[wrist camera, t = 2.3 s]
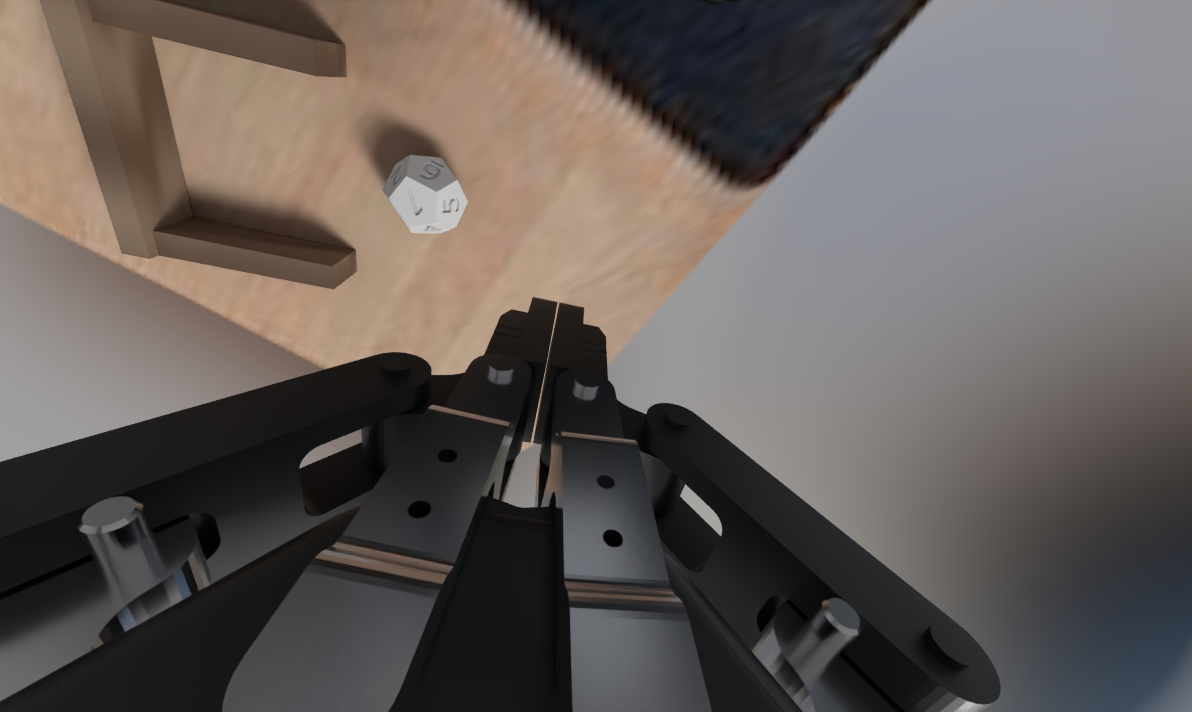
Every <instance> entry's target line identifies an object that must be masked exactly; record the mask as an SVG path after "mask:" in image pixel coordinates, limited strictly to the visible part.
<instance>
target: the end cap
mask: <svg viewBox="0 0 1192 712" xmlns="http://www.w3.org/2000/svg"><path fill="white" fill-rule="evenodd" d="M701 1H705V2H708V3H711V4H721V3H723V2H724V1H731V2H737V1H739V0H701Z"/></svg>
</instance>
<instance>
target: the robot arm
mask: <svg viewBox="0 0 1192 712" xmlns="http://www.w3.org/2000/svg"><path fill="white" fill-rule="evenodd" d="M556 308H557V302H555V301H550V300H545V299H540V298H535V297H533V298H532V302H531V305H530V308H529V311H528V313H526V312H522V311H517V310H512V309H511V310H510V311H508V312H506V313H505V314H503V315H501V317H500V319H499V321H498V324H497V327H496V328H495V331H494V334H493V335H492V338H491V340H490V342H489V345H488V347H487V350H486V352H485V354H484V355H483V356H480V357H478V358H476V359H474V360H473V361H472V362H471V364H470V365H469V367H468V368H467V370H466V372H465V373H461V374H455V375H431V367H430V365H429V364H428V363H427V362H426V361H425V360H424V359H422V358H420V357H418V356H415V355H412V354H408V353H399V352H391V353H382V354H378V355H374V356H371V357H367V358H364V359H360V360H357V361H353V362H350V363H346V364H343V365H339V366H336V367H332V368H329V369H325V370H322V371H318V372H315V373H311V374H308V375H304V376H300V377H297V378H293V379H290V380H286V381H283V382H280V383H276V384H272V385H269V386H265V387H262V388H258V389H255V390H251V391H248V392H245V393H241V394H237V395H234V396H230V397H227V398H223V399H220V400H216V401H213V402H210V403H206V404H202V405H199V406H195V407H192V408H188V409H185V410H181V411H178V412H174V413H171V414H167V415H164V416H160V417H156V418H153V419H150V420H146V421H142V422H139V423H135V424H132V425H129V426H125V427H121V428H118V429H114V430H111V431H107V432H104V433H100V434H97V435H93V436H90V437H86V438H83V439H79V440H76V441H72V442H69V443H65V444H62V445H58V446H55V447H51V448H47V449H44V450H40V451H37V452H34V453H30V454H26V455H23V456H20V457H16V458H12V459H9V460H5V461H2V462H0V712H981V711H983V710H984V709H985V708H986V707H988V706H989V705H991V704H992V703H993V702H995V701H996V700H997V699H998V698H999V695H1000V682H999V677H998V675H997V672H996V670H995V668H994V666H993V664H992V662H991V661H990V659H989V657H988V656H987V654H986V653H985V652H984V650H983V649H982V648H981V646H980V645H979V644H978V643H977V642H976V641H975V640H974V638H972V636H971V635H970V634H968V632H967V631H965V630H964V629H963V628H962V627H960V626H959V625H958V624H957V623H956V622H955V621H954V620H952V619H951V618H949V616H947V615H946V614H945V613H943V612H942V611H941V610H940V609H939V608H937V607H936V606H935V605H934V604H932V603H931V602H930V601H928V600H927V599H926V598H925V597H923V596H922V595H921V594H920V593H919V592H917V591H916V590H915V589H913V588H912V587H911V586H910V585H909V584H907V583H906V582H905V581H904V580H902V579H901V578H900V577H898V576H897V575H896V574H895V573H894V572H892V571H891V570H890V569H889V568H887V567H886V566H885V565H884V564H882V563H881V562H880V561H878V560H877V559H876V558H875V557H873V556H872V555H871V554H870V553H869V552H867V551H866V550H865V549H864V548H862V547H861V546H860V545H858V544H857V543H856V542H855V541H854V540H852V539H851V538H850V537H849V536H847V535H846V534H845V533H844V532H842V531H841V530H840V529H839V528H837V527H836V526H835V525H834V524H832V523H831V522H830V521H829V520H827V519H826V518H825V517H824V516H822V515H821V514H820V513H818V512H817V511H816V510H815V509H814V508H812V507H811V506H810V505H809V504H807V503H806V502H805V501H803V500H802V499H801V498H800V497H799V496H797V495H796V494H795V493H794V492H792V491H791V490H790V489H788V488H787V487H786V486H785V485H784V484H782V483H781V482H780V481H779V480H777V479H776V478H774V477H773V476H772V475H771V474H770V473H769V472H767V471H766V470H765V469H764V468H762V467H761V466H760V465H758V464H757V463H756V462H755V461H754V460H752V459H751V458H750V457H749V456H747V455H746V454H745V453H744V452H742V451H741V450H740V449H739V448H737V447H736V446H735V445H733V444H732V443H731V442H730V441H729V440H727V439H726V438H725V437H724V436H722V435H721V434H720V433H718V432H717V431H716V430H715V429H713V428H712V427H711V426H710V425H709V424H707V423H706V422H705V421H704V420H702V419H701V418H700V417H699V416H697V415H696V414H694V413H693V412H692V411H690V410H688V409H686V408H684V407H682V406H679V405H675V404H669V403H660V404H655V405H653V406H651V407H650V408H649V409H648V411H647V414H644V413H642V412H639V411H637V410H634V409H632V408H629V407H627V406H626V405H624V404H622V403H621V402H619V401H618V400H617V399H616V393H615V389H614V387H613V385H612V384H611V383H610V381H608V375H607V356H606V355H607V351H606V336H605V335H604V334H603V332H602V331H601V330H600V328H599V327H596V326H591V325H586V324H583V318H584V307H579V306H574V305H569V304H565V303H559V308H558V313H557V318H556V323H555V328H554V333H553V337H552V342H551V347H550V352H549V346H550V341H551V335H552V330H553V324H554V319H555V313H556ZM548 352H549V357H548ZM547 358H548V363H547ZM546 363H547V368H546ZM545 368H546V373H545ZM544 373H545V379H544V385H543V390H542V396H541V402H540V407H539V413H538V419H537V424H536V430H535V436H534V441H533V443H536V444H542V445H541V452H540V456H539V461H538V466H537V474H536V494H535V507H532V508H520V507H516V506H513V505H510V504H508V503H505V502H503V501H504V498H505V495H506V492H507V489H508V486H509V483H510V480H511V477H512V473H513V471H514V467H515V463H516V458H517V455H518V454H519V453H520V451H521V447H522V442H523V441H524V442H530V443H531V438H532V433H533V428H534V423H535V418H536V413H537V408H538V403H539V398H540V393H541V388H542V383H543V378H544ZM360 429H361V430H362V442H361V443H359V444H356V445H354V446H352V447H350V448H347V449H345V450H342V451H340V452H338V453H335V454H333V455H331V456H328V457H326V458H323V459H321V460H319V461H316V462H314V463H312V464H309V465H307V466H305V467H302V468H300V469H299V466H300V463H301V461H302V460H303V458H304V457H305V456H306V454H308V453H309V452H310V451H311V450H312V449H314V448H316V447H318V446H320V445H322V444H325V443H327V442H330V441H332V440H334V439H337V438H340V437H342V436H345V435H347V434H350V433H352V432H355V431H357V430H360ZM685 484H686V485H687V486H688V487H689V488H690V489H691V490H692V491H693V492H694V493H696V494H697V495H698V496H699V497H700V498H701V499H702V500H703V501H704V502H705V503H706V504H707V505H708V506H710V508H711V509H712V510H713V511H714V512H715V513H716V514H717V515H718V517H719V519H720V521H721V524H722V535H721V536H720V535H719V534H718V533H717V532H716V531H715V530H714V529H713V528H712V527H711V526H710V525H709V524H708V523H707V522H705V521H704V520H703V519H702V518H701V517H700V516H699V515H698V514H697V513H696V512H695V511H694V510H693V509H692V508H691V507H690V506H689V505H688V504H687V503H686V502H685V501H684V500H683V499H682V498H681V497H680V495H681V492H682V490H683V488H684V486H685Z"/></svg>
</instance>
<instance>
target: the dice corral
mask: <svg viewBox="0 0 1192 712" xmlns="http://www.w3.org/2000/svg"><path fill="white" fill-rule="evenodd" d="M40 2H41V5H42V8H43V11H44V14H45V17H46V20H47V24H48V27H49V30H50V33H51V36H52V39H53V42H54V45H55V48H56V51H57V54H58V58H59V61H60V64H61V67H62V70H63V73H64V76H65V79H66V82H67V85H68V88H69V92H70V95H71V98H72V101H73V104H74V107H75V110H76V113H77V116H78V119H79V122H80V126H81V129H82V132H83V135H84V138H85V141H86V144H87V147H88V150H89V153H90V156H91V159H92V163H93V166H94V169H95V172H96V175H97V178H98V181H99V184H100V187H101V190H102V193H103V197H104V200H105V203H106V206H107V209H108V212H109V215H110V218H111V221H112V224H113V227H114V231H115V234H116V237H117V240H118V243H119V246H120V249H121V252H122V253H123V254H128V255H133V256H138V257H143V258H149V259H151V258H153V257H156V256H158V255H160V256H165V257H170V258H175V259H180V260H186V261H191V262H196V263H201V264H206V265H211V266H217V267H222V268H227V269H232V270H237V271H242V272H247V273H253V274H258V275H263V276H268V277H273V278H278V279H284V280H289V281H294V282H299V283H304V284H309V285H315V286H320V287H325V288H330V289H335V288H336V287H337V286H339V285H340V284H341V283H343V282H344V281H345V280H346V279H348V278H349V277H350V276H352V275H353V274H354V273H355V272H357V267H356V250H351V249H346V248H342V247H337V246H332V245H327V244H322V243H317V242H312V241H307V240H302V239H297V238H293V237H288V236H283V235H278V234H273V233H268V232H263V231H258V230H253V229H248V228H244V227H239V226H234V225H229V224H224V223H219V222H214V221H209V220H204V219H199V218H195V217H193V214H192V210H191V205H190V201H189V197H188V192H187V188H186V184H185V179H184V175H183V171H182V166H181V162H180V158H179V153H178V149H177V145H176V140H175V136H174V132H173V127H172V123H171V119H170V114H169V110H168V106H167V101H166V97H165V93H164V88H163V84H162V80H161V76H160V71H159V67H158V63H157V58H156V54H155V50H154V45H153V41H152V37H151V36H154V37H158V38H162V39H166V40H170V41H174V42H178V43H182V44H187V45H191V46H195V47H199V48H203V49H207V50H211V51H215V52H219V53H224V54H228V55H232V56H236V57H240V58H244V59H248V60H252V61H256V62H261V63H265V64H269V65H273V66H277V67H281V68H285V69H289V70H293V71H298V72H302V73H306V74H310V75H314V76H327V77H347V74H346V55H345V45H343V44H339V43H335V42H331V41H327V40H323V39H319V38H315V37H311V36H307V35H303V34H299V33H295V32H291V31H287V30H283V29H279V28H275V27H271V26H267V25H264V24H260V23H256V22H252V21H248V20H244V19H240V18H236V17H232V16H228V15H224V14H220V13H216V12H212V11H208V10H204V9H200V8H196V7H192V6H188V5H184V4H180V3H176V2H172V1H168V0H40Z"/></svg>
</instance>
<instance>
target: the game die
mask: <svg viewBox="0 0 1192 712" xmlns="http://www.w3.org/2000/svg"><path fill="white" fill-rule="evenodd" d="M383 192H384V193H385V195H386V196H387V198H388V199H389V201H390V202H391V204H392V205H393V206H394V208H395V209H396V211H397V212H398V214H399V215H400V217H401V218H402V220H403V221H404V223H405V224H406V225H407V227H408V228H409V230H410V231H411V233H442V232H445V231H448V230H450V229H453V228H455V227H456V226H457V224H458V222H459V220H460V218H461V216H462V213H463V211H464V209H465V207H466V205H467V203H468V201H467V199H466V197H465V195H464V193H463V191H462V189H461V187H460V185H459V182H458V180H457V179H456V177H455V176H454V175H453V173H452V172H451V170H450V169H449V168H448V166H447V165H446V164H445V162H444V161H443V159H442V158H439V157H429V156H418V155H409V156H407V157H406V158H404V159H403V160H401V161H400V162H398V163H396V164H395V166H394V168H393V170H392V172H391V174H390V176H389V178H388V180H387V182H386V184H385V186H384V188H383Z"/></svg>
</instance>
